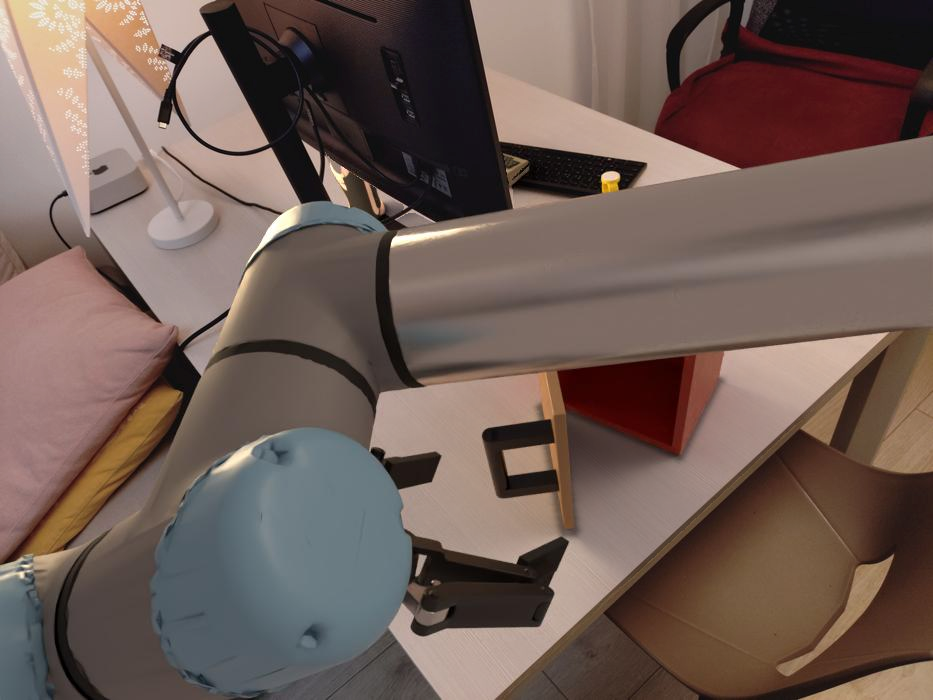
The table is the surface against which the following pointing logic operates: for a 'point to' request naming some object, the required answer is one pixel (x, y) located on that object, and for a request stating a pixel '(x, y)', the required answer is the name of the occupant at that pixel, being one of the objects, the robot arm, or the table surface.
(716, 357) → the cabinet
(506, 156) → the cream printed box
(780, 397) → the table surface
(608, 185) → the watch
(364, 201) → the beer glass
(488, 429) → the cabinet door
